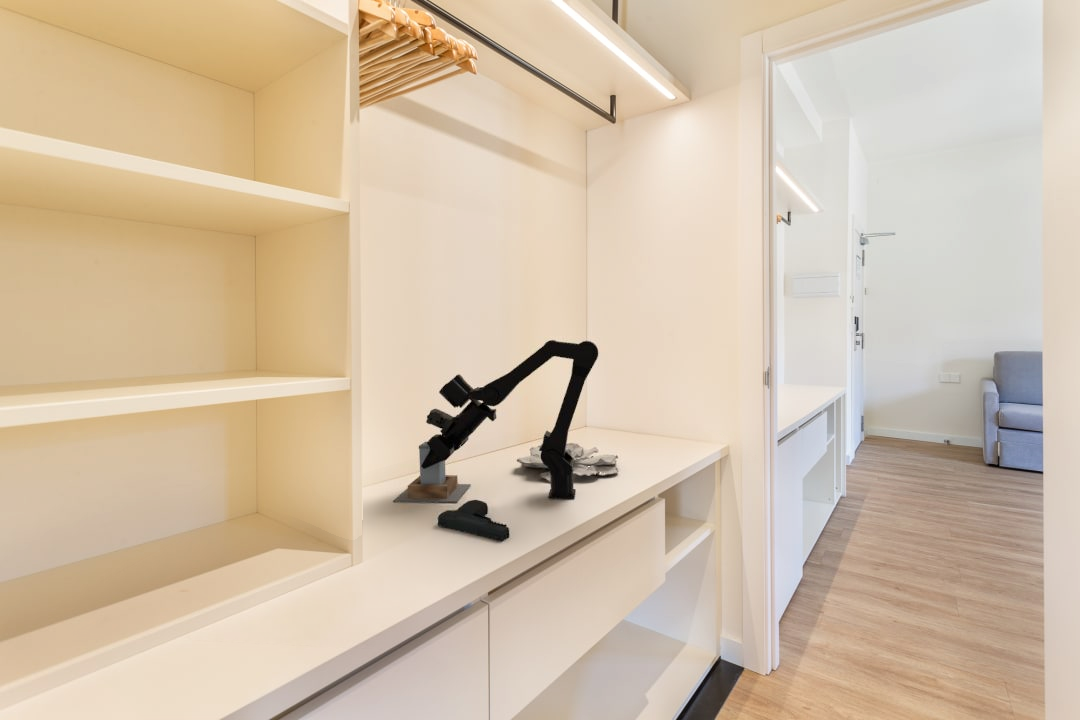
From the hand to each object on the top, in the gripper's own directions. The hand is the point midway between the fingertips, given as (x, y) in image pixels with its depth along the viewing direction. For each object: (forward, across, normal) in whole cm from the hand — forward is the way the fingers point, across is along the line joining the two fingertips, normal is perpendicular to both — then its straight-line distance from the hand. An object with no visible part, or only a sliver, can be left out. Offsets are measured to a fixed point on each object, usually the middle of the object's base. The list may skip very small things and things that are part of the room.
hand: (427, 463), depth 133 cm
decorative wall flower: (-18, -25, +30) cm, 43 cm away
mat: (+4, 0, +6) cm, 8 cm away
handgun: (-7, +21, +20) cm, 29 cm away
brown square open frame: (+4, 0, +6) cm, 8 cm away
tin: (+4, 0, +6) cm, 7 cm away
